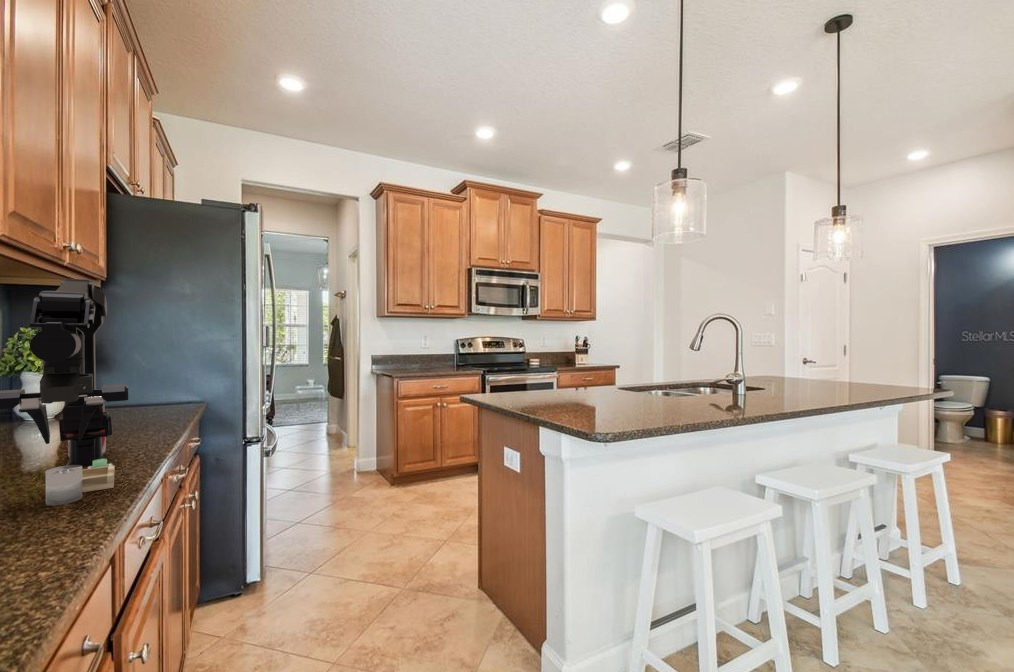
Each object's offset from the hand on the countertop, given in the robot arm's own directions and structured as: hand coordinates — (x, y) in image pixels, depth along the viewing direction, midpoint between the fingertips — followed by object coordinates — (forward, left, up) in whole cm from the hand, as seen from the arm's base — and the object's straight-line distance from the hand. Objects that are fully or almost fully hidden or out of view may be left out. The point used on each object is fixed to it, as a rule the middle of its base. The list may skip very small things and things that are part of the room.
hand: (64, 441), depth 87 cm
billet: (0, 0, -11) cm, 11 cm away
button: (-16, +4, -12) cm, 20 cm away
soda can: (-36, +1, -11) cm, 38 cm away
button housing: (-16, +4, -11) cm, 20 cm away
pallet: (-8, +2, -11) cm, 14 cm away
